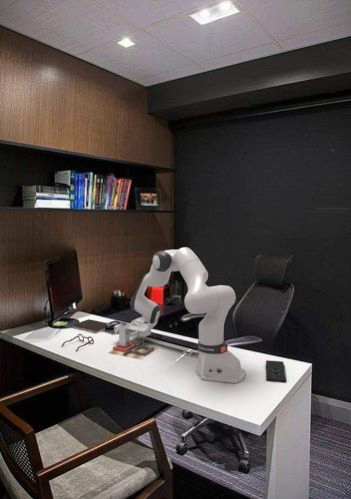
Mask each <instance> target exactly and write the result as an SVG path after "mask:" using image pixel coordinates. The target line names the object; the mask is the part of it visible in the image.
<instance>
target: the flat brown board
mask: <svg viewBox="0 0 351 499" xmlns="http://www.w3.org/2000/svg"><path fill="white" fill-rule="evenodd" d="M130 343H132V344H136V346H135V347H133V348H132V349H130V350H128V351H127V352H121V351H116V350H113V349H112V350H110V351H108V352H107V354H111V355H116V356H120V357H125V358H131V359H136V360H141V361H142V360H144V359H145V358H147V357H148V356H150V355H151V354H153V353H154V352H155V351H157V350H159V349H160V348H161V347H160V346H153V345H147V344H143V343H135V342H131V341H130Z"/></svg>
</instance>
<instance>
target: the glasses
mask: <svg viewBox="0 0 351 499" xmlns="http://www.w3.org/2000/svg"><path fill="white" fill-rule="evenodd" d="M80 336H81V337H82V339H81V337H80ZM76 339H78V340H79V341H80V342H84V341H85V339H87V342H86V343H84V344H81V345H79V346H78V347H77V348H76V349H75V353H77V352H79V351H78V350H79V349H80V348H81V347H85V346H87V345H88V344H90V345H94V344H95V340H94V338H93V337H92V336H84V335H83V334H82V333H78V334H77V335H76V336H74V337H73V338H71V339H69V340H65V341H64V342H63V343H62V344H61V345H60V346H61V348H63V347H64V345H65V344H66V343H67V342H71V341H74V340H76Z"/></svg>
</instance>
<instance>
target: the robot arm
mask: <svg viewBox="0 0 351 499" xmlns="http://www.w3.org/2000/svg"><path fill="white" fill-rule="evenodd" d="M151 260H152V263H151V267H150V270H149V272H147V273H145V274H144V275H143V276H142V278H141V279H140V282H139V284H138V286H137V288H136V290H135V291H134V292H135V293H134V295H133V296H132V297H131V299H130V303H129V304H130V308H131V309H130V310H132V311H134V312H137V313H138V314H140V315H142V316H140V317H137V318H136V319H133V320H131V322H130V323H128V324H129V327H130V338H134V337H142V338H146V337H148V336H151V334H152V329H153V328H154V327H155V326H156V325H157V324H158V321H159V318H160V317H161V313H162V312H161V311H162V310H161V306H160V305H159V304H158V303H156V302H155V301H152V300H151V299H149V298H147V297H146V296H145V292H146V291H147V288H148V287H152V288H161V287H164V286H166V285H167V283H168V282H169V279H170V276H171V273H172V272H180V274H181V276H182V279H183V280H184V281H185V283H186V286H187V293H186V294H185V296H184V306H185V309H186V310H187V312H188V313H190V314H192V315H193V314H195V315H203V314H205V316H204V318H203V319H202V320H201V321H199V324H198V341H197V352H198V356H197V357H198V358H197V365H196V369H195V374H197V375H198V376H199V377H200V379H201V380H202V381H203V380H204V381H209V382H210V381H211V382H220V383H230V384H238V383H241V381H243V380H244V379H245V378H246V375H247V370H246V369H245V368H242V366H241V361H240V359H239V358H238V357H237V356H235V355H234V354H233V353H232V352H230V350H229V349H228V346H229V342H228V343H226V342H225V341H224V328H225V327H224V326H225V321H226V318H227V315H228V313H229V311H230V310H231V308H232V306H233V305H235V303H236V299H237V297H236V293H235V290H234V289H233V287H231V286H230V285H222V284H219V285H214V286H213V285H212V286H208V285H207V284H206V282H207V281H208V279H209V273H208V270H207V269H206V268H205V266H204V264H203V263H202V261H201V259H200V258H199V257H198V256H197V255H196V253H195V252H194V251H193V250H192V249H191V248H189V247H187V246H186V247H185V246H184V247H180V248H179V249H166V250H159V251H156V252H155V253H154V254H153V257H152V259H151ZM120 324H122V322H121V323H119V324H114V327H113V331H114V335H116V336H117V335H119V325H120Z"/></svg>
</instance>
